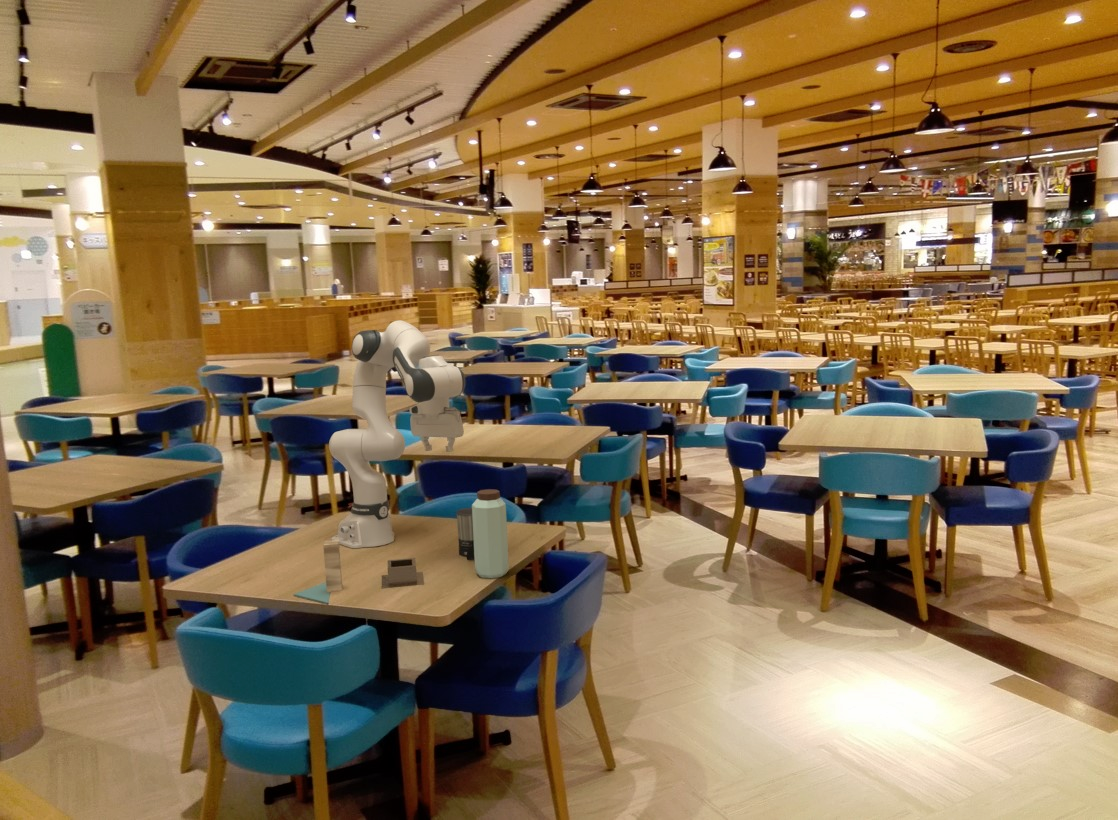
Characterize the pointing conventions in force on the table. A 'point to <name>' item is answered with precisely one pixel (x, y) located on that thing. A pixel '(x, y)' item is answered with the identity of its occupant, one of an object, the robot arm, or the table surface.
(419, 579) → the tan hollow square block
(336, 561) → the maple bar
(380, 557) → the table surface
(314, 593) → the teal mat
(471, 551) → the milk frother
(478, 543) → the water bottle
